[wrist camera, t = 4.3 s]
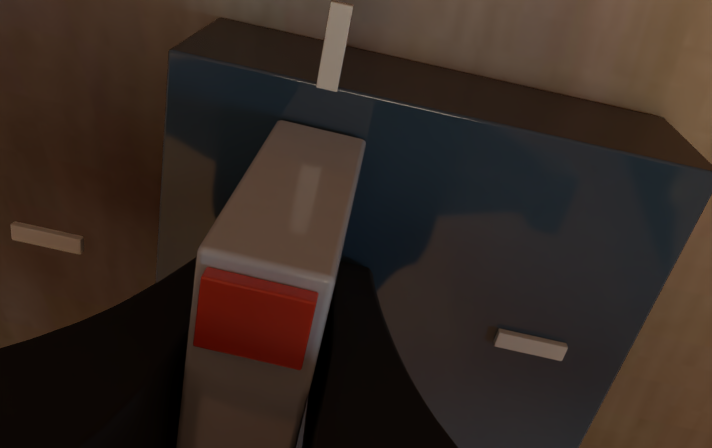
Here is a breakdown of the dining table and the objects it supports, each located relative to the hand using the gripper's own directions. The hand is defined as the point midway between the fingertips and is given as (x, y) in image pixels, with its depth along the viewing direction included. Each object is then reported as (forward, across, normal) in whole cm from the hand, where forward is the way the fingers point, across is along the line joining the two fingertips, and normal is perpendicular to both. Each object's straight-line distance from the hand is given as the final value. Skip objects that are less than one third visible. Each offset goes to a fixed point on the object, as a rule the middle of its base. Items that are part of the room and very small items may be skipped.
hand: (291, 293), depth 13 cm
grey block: (0, 0, 0) cm, 0 cm away
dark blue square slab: (+3, -1, 0) cm, 3 cm away
